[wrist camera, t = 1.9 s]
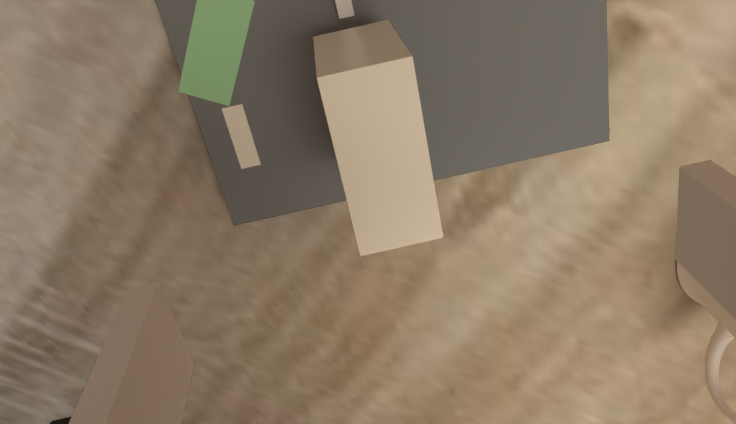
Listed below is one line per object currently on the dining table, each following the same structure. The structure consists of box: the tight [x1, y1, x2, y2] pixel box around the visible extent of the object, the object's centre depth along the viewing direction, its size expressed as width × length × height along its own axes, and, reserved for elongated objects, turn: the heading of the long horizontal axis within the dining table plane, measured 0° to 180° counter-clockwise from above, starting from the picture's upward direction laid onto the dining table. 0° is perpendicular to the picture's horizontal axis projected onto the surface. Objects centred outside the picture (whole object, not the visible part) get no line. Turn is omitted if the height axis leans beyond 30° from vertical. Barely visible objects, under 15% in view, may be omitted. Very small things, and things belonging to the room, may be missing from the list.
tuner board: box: [155, 0, 609, 226], centre depth 30 cm, size 20×15×2 cm
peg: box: [313, 0, 443, 256], centre depth 25 cm, size 3×12×9 cm, turn 11°
